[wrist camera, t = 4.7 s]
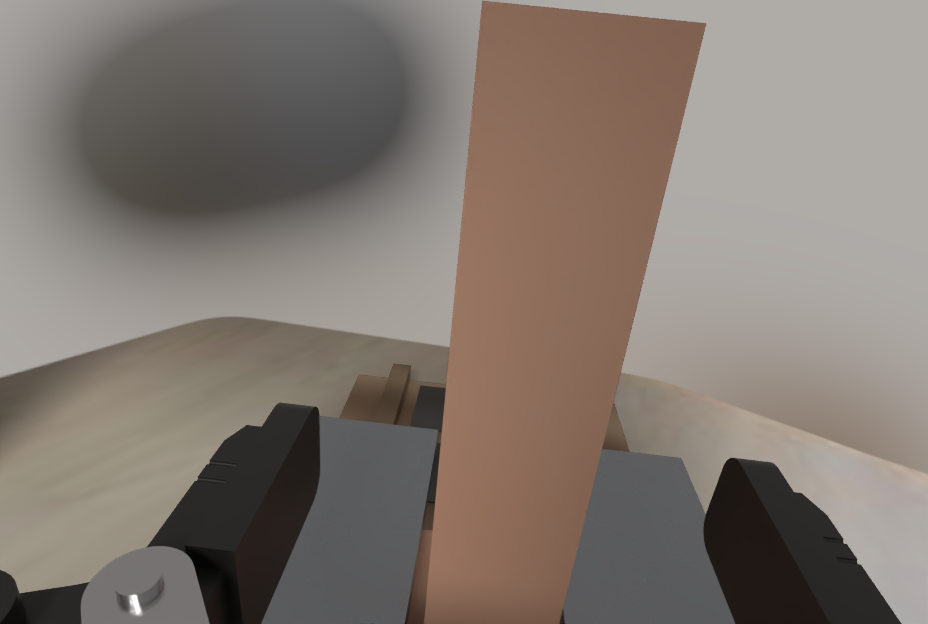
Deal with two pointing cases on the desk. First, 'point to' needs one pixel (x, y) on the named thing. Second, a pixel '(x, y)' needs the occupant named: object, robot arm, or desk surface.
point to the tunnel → (402, 521)
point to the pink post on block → (545, 295)
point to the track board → (425, 413)
